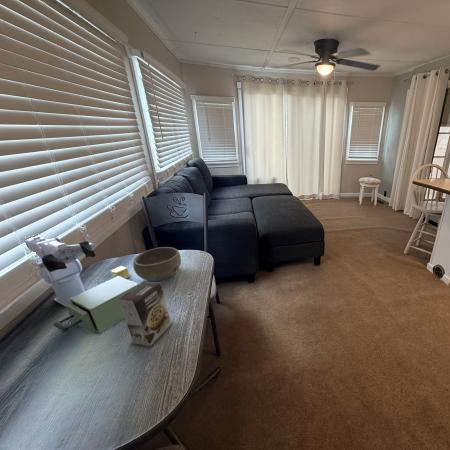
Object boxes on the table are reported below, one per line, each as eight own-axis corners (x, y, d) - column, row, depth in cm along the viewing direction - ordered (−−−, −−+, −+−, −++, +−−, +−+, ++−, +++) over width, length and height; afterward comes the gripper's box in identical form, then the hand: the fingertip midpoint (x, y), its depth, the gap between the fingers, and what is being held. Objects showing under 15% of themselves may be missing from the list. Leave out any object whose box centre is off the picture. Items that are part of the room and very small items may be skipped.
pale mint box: (99, 333, 75) (90, 309, 72) (79, 320, 80) (69, 298, 77) (145, 304, 87) (138, 283, 84) (125, 295, 92) (118, 275, 89)
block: (113, 279, 103) (110, 270, 102) (124, 274, 107) (121, 265, 105) (119, 281, 101) (116, 272, 100) (129, 276, 105) (127, 267, 104)
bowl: (190, 273, 107) (185, 253, 103) (146, 292, 94) (139, 270, 91) (173, 261, 117) (169, 242, 114) (132, 276, 105) (125, 256, 101)
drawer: (72, 345, 70) (63, 326, 67) (54, 332, 74) (45, 313, 72) (135, 307, 85) (130, 290, 82) (117, 298, 90) (111, 282, 87)
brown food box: (151, 346, 70) (136, 301, 64) (132, 343, 71) (116, 299, 65) (172, 324, 78) (161, 282, 72) (155, 321, 79) (143, 280, 74)
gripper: (25, 251, 74) (43, 260, 68) (80, 233, 86) (100, 238, 80) (36, 270, 77) (54, 280, 71) (88, 250, 89) (108, 256, 83)
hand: (79, 259), depth 76 cm, fingers open, 7 cm apart
